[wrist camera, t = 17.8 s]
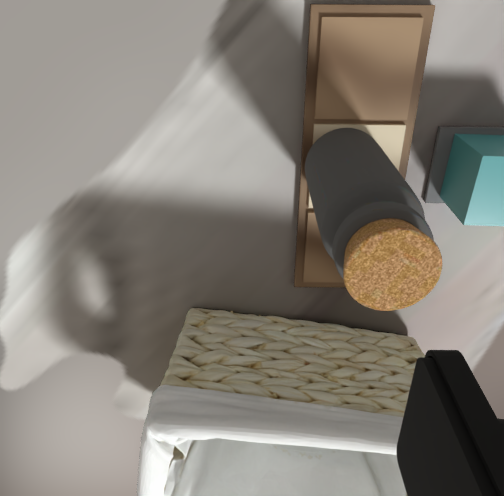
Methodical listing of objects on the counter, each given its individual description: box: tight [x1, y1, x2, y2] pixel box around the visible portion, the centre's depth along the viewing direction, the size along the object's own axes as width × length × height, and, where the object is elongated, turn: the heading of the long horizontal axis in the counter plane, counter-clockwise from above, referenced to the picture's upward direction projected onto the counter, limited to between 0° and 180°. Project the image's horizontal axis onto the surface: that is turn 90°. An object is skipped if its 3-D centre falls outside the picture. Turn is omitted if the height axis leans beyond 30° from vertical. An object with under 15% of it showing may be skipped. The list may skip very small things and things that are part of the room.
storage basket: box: [137, 308, 425, 496], centre depth 41 cm, size 24×16×15 cm
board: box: [294, 4, 435, 287], centre depth 37 cm, size 22×8×1 cm, turn 0°
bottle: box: [305, 128, 442, 311], centre depth 30 cm, size 6×6×15 cm
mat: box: [424, 126, 504, 203], centre depth 37 cm, size 6×6×1 cm
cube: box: [440, 134, 504, 226], centre depth 34 cm, size 5×5×5 cm
